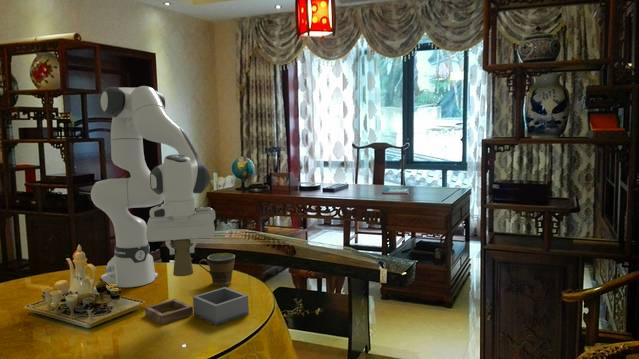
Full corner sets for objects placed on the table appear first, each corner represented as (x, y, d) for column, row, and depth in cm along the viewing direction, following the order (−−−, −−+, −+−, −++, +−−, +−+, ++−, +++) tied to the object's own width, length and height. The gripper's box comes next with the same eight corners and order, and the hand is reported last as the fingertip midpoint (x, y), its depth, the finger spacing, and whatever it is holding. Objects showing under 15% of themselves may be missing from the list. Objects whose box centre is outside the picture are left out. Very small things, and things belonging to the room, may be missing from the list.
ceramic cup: (235, 277, 196) (234, 252, 195) (236, 286, 186) (235, 259, 185) (200, 280, 194) (199, 254, 192) (199, 288, 184) (198, 261, 183)
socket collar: (145, 315, 160) (145, 307, 160) (175, 306, 168) (175, 298, 167) (162, 324, 153) (162, 316, 153) (192, 314, 160) (192, 306, 160)
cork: (195, 274, 157) (193, 239, 156) (174, 277, 154) (173, 241, 153) (191, 269, 162) (189, 235, 161) (171, 272, 160) (170, 237, 159)
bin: (193, 315, 160) (192, 296, 159) (225, 304, 168) (225, 286, 168) (216, 325, 151) (215, 306, 151) (248, 314, 160) (248, 295, 159)
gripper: (214, 205, 162) (216, 248, 163) (145, 209, 156) (148, 253, 158) (215, 208, 155) (217, 253, 157) (144, 212, 150) (146, 258, 152)
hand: (182, 253), depth 157 cm, fingers closed on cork, 4 cm apart
